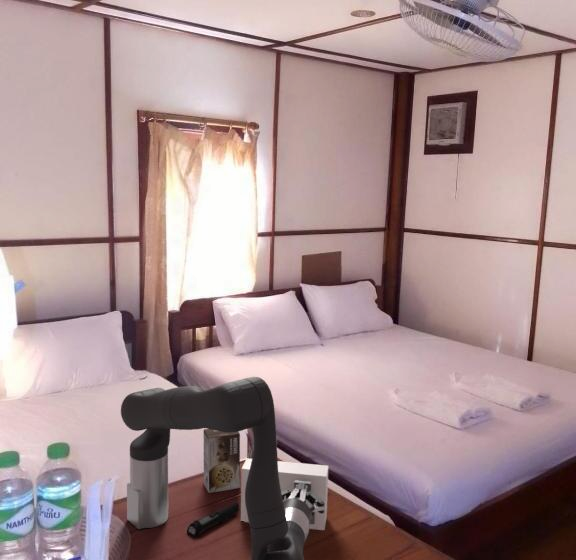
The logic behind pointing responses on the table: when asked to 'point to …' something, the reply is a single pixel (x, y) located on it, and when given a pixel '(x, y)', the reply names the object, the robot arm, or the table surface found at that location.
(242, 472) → the white switch box
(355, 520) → the table surface
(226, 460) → the coffee box
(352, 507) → the table surface
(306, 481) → the outer rocker
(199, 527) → the electric trimmer
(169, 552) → the table surface
